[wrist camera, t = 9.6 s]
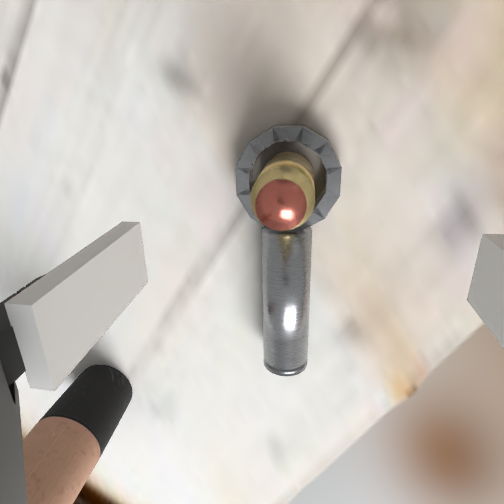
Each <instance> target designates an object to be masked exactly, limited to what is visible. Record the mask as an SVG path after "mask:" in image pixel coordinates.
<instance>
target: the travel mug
mask: <svg viewBox="0 0 504 504" xmlns="http://www.w3.org/2000/svg"><path fill="white" fill-rule="evenodd" d="M131 398H132V387H131V385H130V382H129V381H128V379H127V378H126V377H125V376H124V375H123V374H122V373H121V372H119V371H118V370H116V369H114V368H112V367H109V366H105V365H94V366H91V367H89V368H87V369H86V370H84V371H83V372H82V373H81V374H80V375H79V377H78V378H77V379H76V380H75V381H74V382H73V383H72V384H71V386H70V387H69V388H68V389H67V390H66V391H65V392H64V393H63V395H62V396H61V397H60V398H59V399H58V400H57V401H56V402H55V404H54V405H53V406H52V407H51V408H50V409H49V410H48V411H47V413H46V414H45V415H44V416H43V417H42V418H41V419H40V420H39V422H38V423H37V424H36V425H35V426H34V428H33V429H32V430H31V431H30V432H29V434H28V435H27V436H26V437H25V439H24V440H23V441H22V443H23V455H24V467H25V480H26V492H27V504H73V502H74V501H75V499H76V497H77V496H78V494H79V492H80V491H81V489H82V487H83V485H84V484H85V482H86V480H87V479H88V477H89V475H90V474H91V472H92V470H93V469H94V467H95V465H96V464H97V462H98V460H99V458H100V456H101V455H102V453H103V451H104V449H105V447H106V445H107V444H108V442H109V440H110V438H111V436H112V434H113V432H114V431H115V429H116V427H117V425H118V423H119V421H120V419H121V418H122V416H123V414H124V412H125V410H126V408H127V406H128V405H129V403H130V400H131Z"/></svg>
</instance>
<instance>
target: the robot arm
mask: <svg viewBox="0 0 504 504" xmlns="http://www.w3.org/2000/svg"><path fill="white" fill-rule="evenodd" d="M147 283H148V278H147V271H146V263H145V256H144V248H143V241H142V234H141V226H140V222H121V223H120V224H118V225H117V226H115V227H114V228H112V229H111V230H110V231H108V232H107V233H105V234H104V235H102V236H101V237H99V238H98V239H97V240H95V241H94V242H92V243H91V244H89V245H88V246H86V247H85V248H84V249H82V250H81V251H79V252H78V253H76V254H75V255H73V256H72V257H71V258H69V259H68V260H66V261H65V262H63V263H62V264H60V265H59V266H58V267H56V268H55V269H53V270H52V271H50V272H49V273H47V274H45V275H43V276H41V277H38V278H36V279H35V280H33V281H32V282H30V283H29V284H28V285H26V287H23V288H22V289H20V290H19V291H17V294H15V293H14V294H13V295H11V296H10V297H8V298H7V299H6V300H4V301H3V302H1V303H0V504H27V492H26V480H25V467H24V455H23V443H22V430H21V418H20V406H19V394H18V389H17V386H16V383H15V381H16V380H17V379H18V378H19V377H20V376H21V375H22V374H23V373H24V372H25V373H26V376H27V380H28V383H29V386H30V388H32V389H42V390H52V391H55V390H56V389H57V388H58V387H59V386H60V385H61V383H62V382H63V381H64V380H65V379H66V378H67V376H68V375H69V374H70V373H71V372H72V371H73V369H74V368H75V367H76V366H77V365H78V363H79V362H80V361H81V360H82V359H83V358H84V356H85V355H86V354H87V353H88V352H89V351H90V349H91V348H92V347H93V346H94V345H95V344H96V342H97V341H98V340H99V339H100V338H101V337H102V335H103V334H104V333H105V332H106V331H107V330H108V328H109V327H110V326H111V325H112V324H113V322H114V321H115V320H116V319H117V318H118V317H119V315H120V314H121V313H122V312H123V311H124V310H125V308H126V307H127V306H128V305H129V304H130V303H131V301H132V300H133V299H134V298H135V297H136V296H137V294H138V293H139V292H140V291H141V290H142V289H143V287H144V286H145V285H146V284H147ZM467 301H468V302H469V303H470V305H471V306H472V307H473V309H474V310H475V311H476V313H477V314H478V315H479V317H480V318H481V319H482V321H483V322H484V323H485V325H486V326H487V327H488V329H489V330H490V331H491V333H492V334H493V335H494V337H495V338H496V339H497V341H498V342H499V343H500V345H501V346H502V347H503V348H504V235H503V234H482V238H481V242H480V247H479V251H478V255H477V259H476V264H475V268H474V272H473V276H472V280H471V285H470V289H469V293H468V297H467Z"/></svg>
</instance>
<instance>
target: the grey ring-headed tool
mask: <svg viewBox="0 0 504 504" xmlns="http://www.w3.org/2000/svg"><path fill="white" fill-rule="evenodd" d="M276 142H300V143H302V144H303V145H305V146H307V147H309V148H310V149H312V150H314V151H315V152H317V153H318V155H319V157H320V159H321V161H322V163H323V165H324V166H325V168H326V181H325V188H324V190H323V191H322V193H321V194H320V196H319V197H318V199H317V201H316V202H315V205H314V209H313V211H312V214H311V215H310V217H309V218H308V219H307V220H306V221H305V222H304V223H303V224H302V225H300V226H299V227H297V228H294V229H291V230H285V231H278V230H273V229H270V228H268V227H267V226H265V227H263V228H262V281H263V343H264V365H265V367H266V368H267V369H268V370H269V371H270V372H272V373H274V374H276V375H280V376H293V375H297V374H299V373H301V372H302V371H304V369H305V368H306V366H307V354H308V327H309V299H310V272H311V245H312V229H311V228H310V227H309V226H311V225H313V224H315V223H317V222H319V221H321V220H323V219H325V217H326V216H327V214H328V213H329V211H330V210H331V208H332V207H333V205H334V204H335V202H336V201H337V199H338V198H339V196H340V184H341V168H342V167H341V165H340V163H339V161H338V159H337V157H336V155H335V153H334V151H333V149H332V148H331V146H330V144H329V142H328V140H327V139H326V138H324V137H323V136H321V135H319V134H318V133H316V132H314V131H312V130H311V129H309V128H307V127H306V126H304V125H275V126H273V127H272V128H270V129H269V130H267V131H266V132H264V133H262V134H261V135H259V136H258V137H256V138H254V139H253V140H251V141H250V142H249V143H248V145H247V146H246V148H245V150H244V152H243V154H242V156H241V158H240V160H239V162H238V164H237V166H236V191H237V196H238V198H239V199H240V201H241V203H242V204H243V206H244V208H245V209H246V211H247V212H248V214H249V216H250V217H251V218H252V219H254V220H256V221H258V222H259V223H261V222H260V221H259V220H258V219H257V217H256V216H255V214H254V212H253V210H252V207H251V203H250V195H251V190H252V187H253V182H252V167H253V165H254V163H255V161H256V159H257V157H258V156H259V154H260V152H261V151H263V150H264V149H266V148H268V147H269V146H271V145H273V144H274V143H276ZM261 224H263V223H261ZM263 225H264V224H263Z"/></svg>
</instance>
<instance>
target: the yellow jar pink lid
mask: <svg viewBox="0 0 504 504" xmlns="http://www.w3.org/2000/svg"><path fill="white" fill-rule="evenodd" d="M250 203H251V207H252V210H253V212H254V214H255V216H256V217H257V219H258V220H259V221H260V222H261V223H263V224H264V225H265V226H267V227H268V228H270V229H273V230H278V231H285V230H291V229H294V228H297V227H299V226H300V225H302V224H303V223H304V222H305V221H306V220H307V219H308V218H309V217H310V215H311V214H312V211H313V209H314V205H315V185H314V172H313V168H312V166H311V164H310V163H309V161H308V160H307V159H306V158H305V157H303V156H302V155H300V154H297V153H294V152H283V153H279V154H277V155H275V156H274V157H272V158H271V159H270V160H269V161H268V163H267V164H266V166H265V167H264V169H263V170H262V172H261V173H260V175H259V177H258V178H257V180H256V181H255V183H254V185H253V187H252V190H251V195H250Z"/></svg>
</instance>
